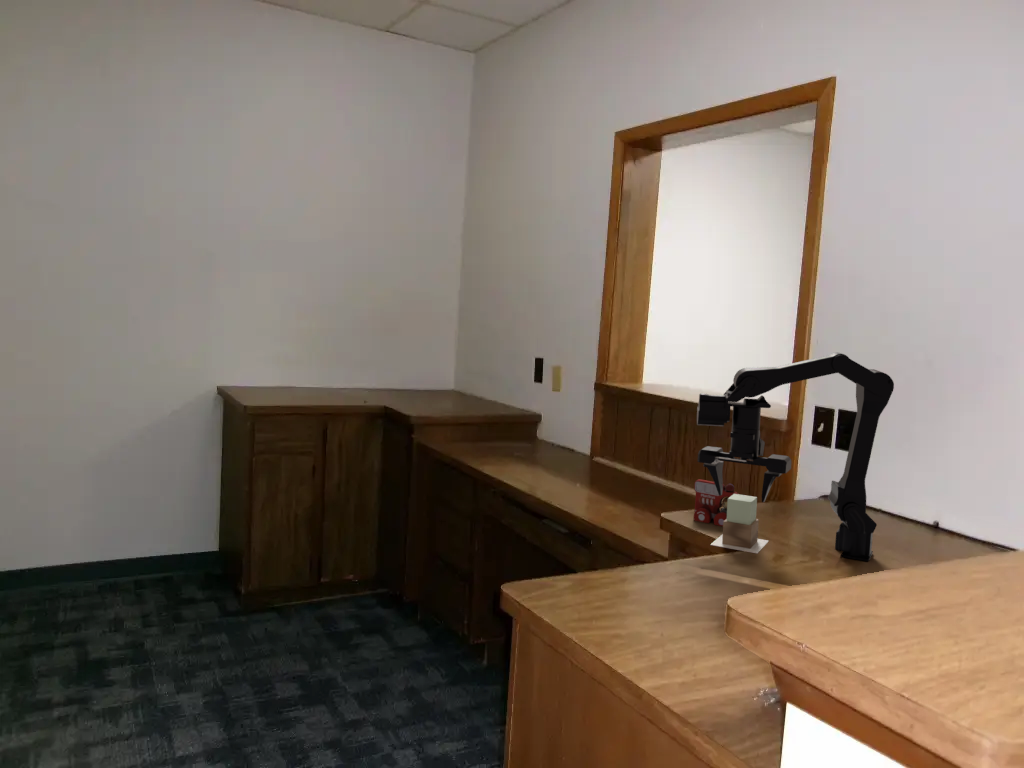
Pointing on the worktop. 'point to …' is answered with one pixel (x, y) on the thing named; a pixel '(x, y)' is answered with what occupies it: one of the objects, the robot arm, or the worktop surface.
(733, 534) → the walnut block
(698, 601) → the worktop surface
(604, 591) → the worktop surface
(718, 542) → the build pad
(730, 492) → the toy fire truck
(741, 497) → the sage cube
